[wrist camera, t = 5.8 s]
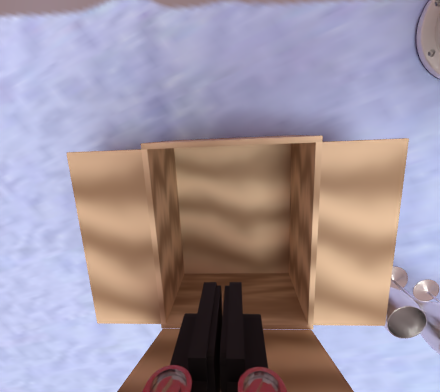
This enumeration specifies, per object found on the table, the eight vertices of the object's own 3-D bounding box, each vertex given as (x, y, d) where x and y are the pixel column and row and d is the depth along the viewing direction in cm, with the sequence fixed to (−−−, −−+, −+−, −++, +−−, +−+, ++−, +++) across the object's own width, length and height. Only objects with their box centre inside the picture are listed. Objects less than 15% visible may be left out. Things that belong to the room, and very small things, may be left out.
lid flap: (-6, 560, 10) (-8, 580, 10) (497, 600, 8) (500, 623, 8) (163, 328, 31) (163, 333, 31) (311, 329, 30) (311, 335, 30)
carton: (117, 142, 38) (65, 146, 26) (353, 132, 36) (409, 131, 24) (135, 275, 43) (98, 327, 32) (342, 274, 41) (384, 330, 29)
